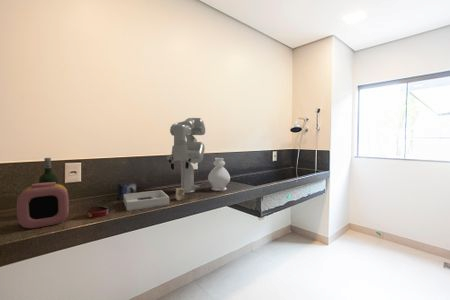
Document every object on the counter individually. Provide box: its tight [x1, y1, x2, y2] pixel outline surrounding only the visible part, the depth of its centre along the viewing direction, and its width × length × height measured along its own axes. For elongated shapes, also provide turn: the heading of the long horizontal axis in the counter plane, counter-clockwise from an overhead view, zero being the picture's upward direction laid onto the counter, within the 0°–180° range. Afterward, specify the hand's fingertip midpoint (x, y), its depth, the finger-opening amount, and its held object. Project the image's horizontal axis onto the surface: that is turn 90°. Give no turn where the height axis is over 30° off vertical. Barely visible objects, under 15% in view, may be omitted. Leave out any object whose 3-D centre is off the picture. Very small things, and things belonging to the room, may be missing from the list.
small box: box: [117, 181, 137, 201], centre depth 152 cm, size 11×6×10 cm, turn 129°
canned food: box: [86, 200, 109, 219], centre depth 119 cm, size 11×10×10 cm
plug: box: [175, 187, 185, 201], centre depth 150 cm, size 4×4×7 cm
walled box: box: [123, 189, 170, 212], centre depth 140 cm, size 24×20×5 cm
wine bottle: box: [38, 157, 59, 184], centre depth 120 cm, size 8×8×30 cm
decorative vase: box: [207, 157, 231, 192], centre depth 180 cm, size 18×18×25 cm
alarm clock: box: [16, 182, 70, 229], centre depth 106 cm, size 18×11×19 cm, turn 126°
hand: (179, 169), depth 149 cm, fingers open, 9 cm apart
